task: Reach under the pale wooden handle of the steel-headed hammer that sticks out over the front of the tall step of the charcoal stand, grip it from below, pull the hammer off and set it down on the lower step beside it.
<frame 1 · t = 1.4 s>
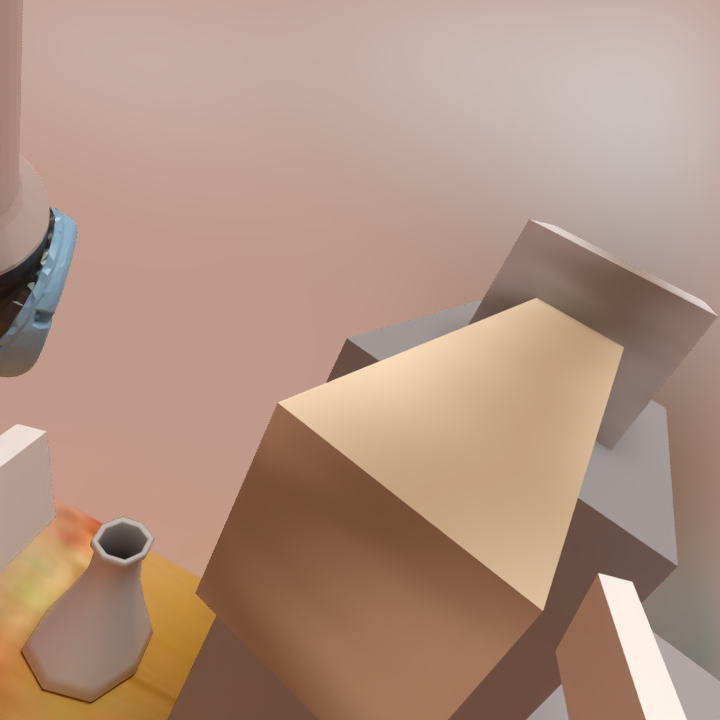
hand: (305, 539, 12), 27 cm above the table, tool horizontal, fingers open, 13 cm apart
hammer: (541, 381, 20), point 30 cm above the table, touching stand
flask: (89, 645, 34), on the table
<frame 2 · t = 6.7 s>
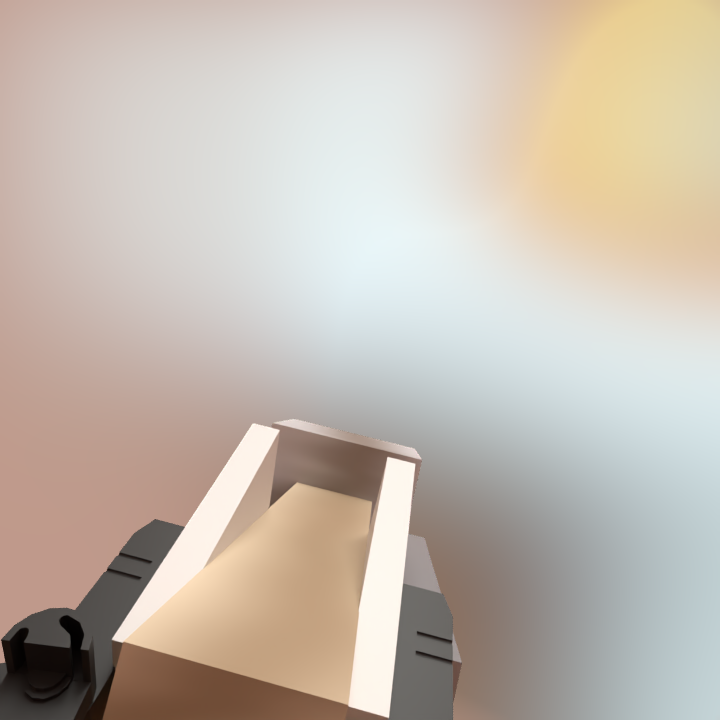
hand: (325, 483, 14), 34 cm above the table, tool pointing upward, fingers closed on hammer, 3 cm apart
hammer: (323, 550, 22), point 30 cm above the table, touching gripper, stand
when the fingers open (25 cm above the table, at t = 15.0 s): hammer stays where it is, resting on stand.
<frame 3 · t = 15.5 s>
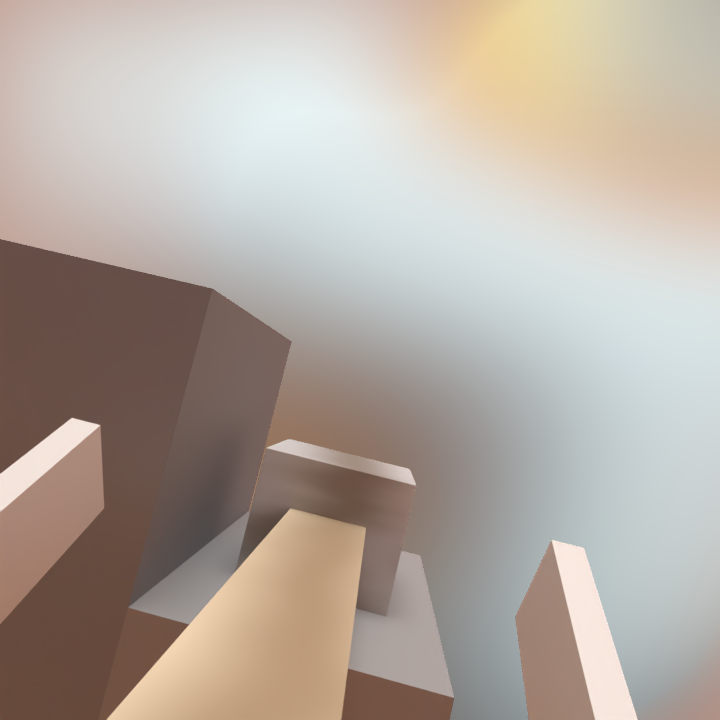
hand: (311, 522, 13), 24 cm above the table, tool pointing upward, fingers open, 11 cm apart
hammer: (317, 574, 22), point 20 cm above the table, touching stand
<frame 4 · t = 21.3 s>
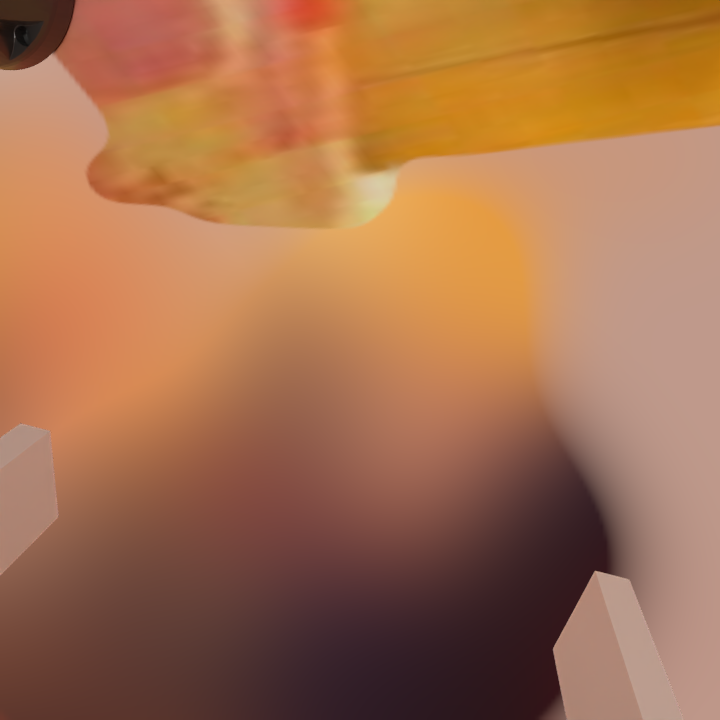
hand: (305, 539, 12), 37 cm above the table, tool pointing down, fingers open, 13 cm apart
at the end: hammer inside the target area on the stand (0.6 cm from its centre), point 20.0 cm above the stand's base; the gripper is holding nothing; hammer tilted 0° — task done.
